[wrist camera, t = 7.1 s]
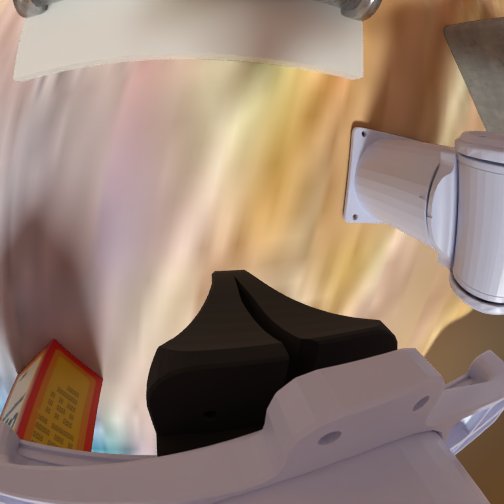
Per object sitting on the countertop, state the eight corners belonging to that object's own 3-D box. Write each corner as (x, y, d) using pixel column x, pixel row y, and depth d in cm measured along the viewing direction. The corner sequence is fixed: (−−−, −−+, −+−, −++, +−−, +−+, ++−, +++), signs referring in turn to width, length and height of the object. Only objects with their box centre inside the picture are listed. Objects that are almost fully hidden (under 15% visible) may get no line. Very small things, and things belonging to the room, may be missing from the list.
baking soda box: (53, 338, 22) (3, 484, 7) (103, 379, 25) (86, 523, 10) (17, 374, 22) (-21, 489, 8) (60, 407, 25) (40, 522, 11)
